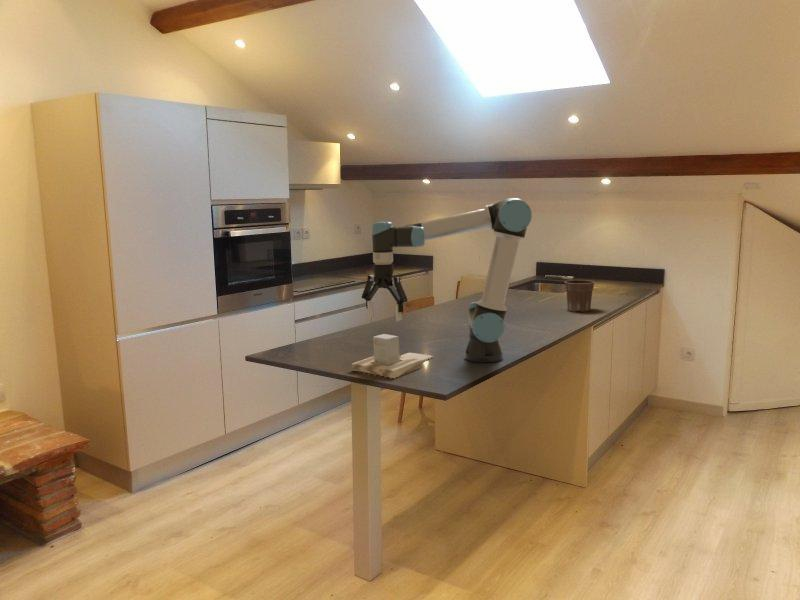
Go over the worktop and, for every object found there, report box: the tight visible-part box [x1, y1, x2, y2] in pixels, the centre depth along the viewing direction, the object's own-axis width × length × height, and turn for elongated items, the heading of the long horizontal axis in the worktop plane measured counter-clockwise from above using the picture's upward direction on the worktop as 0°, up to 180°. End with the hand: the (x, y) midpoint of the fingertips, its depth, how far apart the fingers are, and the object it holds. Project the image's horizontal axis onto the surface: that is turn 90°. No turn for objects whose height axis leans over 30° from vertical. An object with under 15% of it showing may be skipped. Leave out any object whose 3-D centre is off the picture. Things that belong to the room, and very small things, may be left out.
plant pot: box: [564, 279, 596, 313], centre depth 347 cm, size 16×16×16 cm
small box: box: [372, 333, 400, 366], centre depth 240 cm, size 8×6×13 cm
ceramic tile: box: [400, 352, 434, 363], centre depth 255 cm, size 12×10×1 cm
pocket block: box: [351, 355, 423, 379], centre depth 241 cm, size 20×18×3 cm
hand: (384, 319), depth 238 cm, fingers open, 13 cm apart
